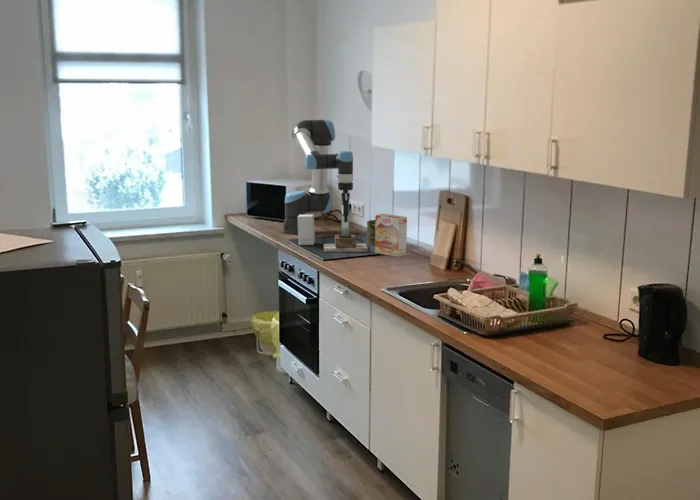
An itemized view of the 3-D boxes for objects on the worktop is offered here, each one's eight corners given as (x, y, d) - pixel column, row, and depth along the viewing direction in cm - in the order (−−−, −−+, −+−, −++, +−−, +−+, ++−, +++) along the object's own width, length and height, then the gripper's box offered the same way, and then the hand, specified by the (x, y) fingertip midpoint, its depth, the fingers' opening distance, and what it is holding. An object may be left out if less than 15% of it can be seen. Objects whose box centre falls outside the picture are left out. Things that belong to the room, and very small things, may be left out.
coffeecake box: (374, 253, 384) (374, 214, 380) (382, 250, 389) (383, 213, 385) (398, 257, 374) (399, 218, 370) (406, 254, 380) (407, 216, 376)
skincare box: (315, 242, 408) (314, 214, 405) (313, 245, 402) (313, 216, 398) (299, 242, 409) (299, 214, 406) (297, 245, 402) (297, 216, 399)
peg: (341, 235, 393) (341, 204, 390) (349, 235, 393) (349, 204, 390) (341, 236, 389) (341, 205, 386) (349, 236, 389) (349, 205, 386)
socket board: (323, 246, 399) (323, 234, 398) (365, 246, 400) (365, 233, 399) (324, 252, 385) (324, 239, 384) (367, 251, 387) (367, 239, 385)
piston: (382, 224, 397) (363, 222, 402) (382, 246, 399) (363, 244, 404) (391, 221, 406) (372, 219, 412) (391, 243, 409) (372, 241, 414)
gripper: (337, 180, 394) (337, 224, 398) (338, 184, 377) (339, 230, 382) (351, 180, 394) (351, 224, 399) (354, 183, 378) (353, 230, 382)
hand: (345, 227), depth 390 cm, fingers closed on peg, 4 cm apart
